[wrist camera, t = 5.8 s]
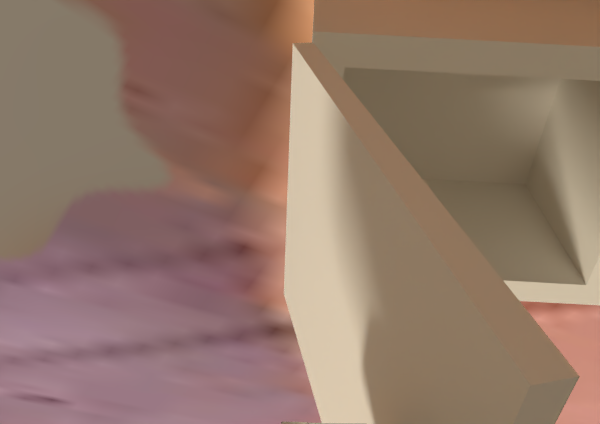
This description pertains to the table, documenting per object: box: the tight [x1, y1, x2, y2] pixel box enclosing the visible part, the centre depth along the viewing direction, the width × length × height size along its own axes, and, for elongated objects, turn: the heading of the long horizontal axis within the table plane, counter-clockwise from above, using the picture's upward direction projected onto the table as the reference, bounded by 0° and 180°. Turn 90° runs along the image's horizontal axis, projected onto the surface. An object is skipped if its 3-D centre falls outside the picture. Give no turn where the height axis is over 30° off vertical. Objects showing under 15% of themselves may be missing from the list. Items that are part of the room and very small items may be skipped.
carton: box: [312, 0, 600, 305], centre depth 22 cm, size 12×10×8 cm
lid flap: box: [284, 43, 580, 424], centre depth 13 cm, size 12×10×1 cm
